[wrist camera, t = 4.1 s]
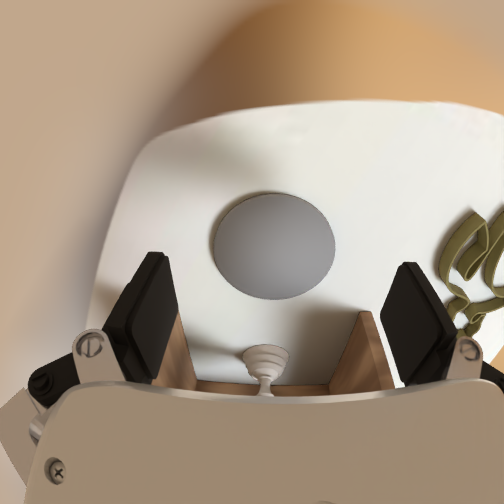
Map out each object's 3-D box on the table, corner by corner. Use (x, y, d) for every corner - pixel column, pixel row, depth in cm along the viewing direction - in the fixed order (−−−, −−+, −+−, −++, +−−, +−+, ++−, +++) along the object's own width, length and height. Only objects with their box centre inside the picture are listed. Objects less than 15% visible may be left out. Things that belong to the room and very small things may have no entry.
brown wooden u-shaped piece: (371, 311, 24) (399, 404, 15) (335, 388, 32) (342, 455, 24) (165, 304, 24) (132, 397, 16) (189, 383, 33) (176, 449, 24)
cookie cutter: (508, 297, 23) (515, 306, 21) (442, 343, 28) (447, 354, 26) (504, 186, 16) (517, 195, 14) (414, 250, 20) (423, 264, 19)
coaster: (342, 197, 18) (344, 201, 17) (323, 296, 23) (324, 300, 22) (211, 191, 18) (209, 195, 18) (218, 292, 23) (217, 297, 23)
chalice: (299, 336, 26) (307, 520, 11) (299, 371, 30) (304, 518, 15) (226, 340, 27) (203, 516, 12) (238, 374, 30) (224, 517, 15)
